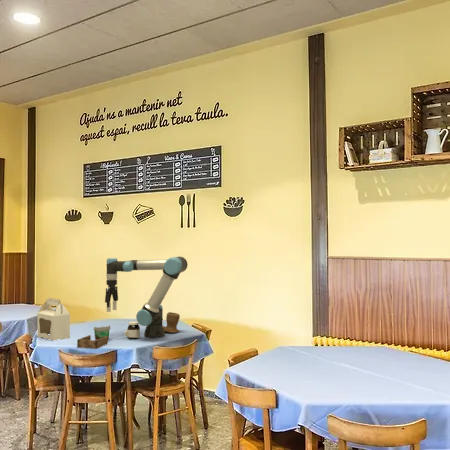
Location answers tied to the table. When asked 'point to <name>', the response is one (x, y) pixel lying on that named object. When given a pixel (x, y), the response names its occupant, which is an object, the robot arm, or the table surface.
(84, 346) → the walnut pen
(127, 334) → the spread jar
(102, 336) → the food container
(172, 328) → the brown ankle boot
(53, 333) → the gable box
